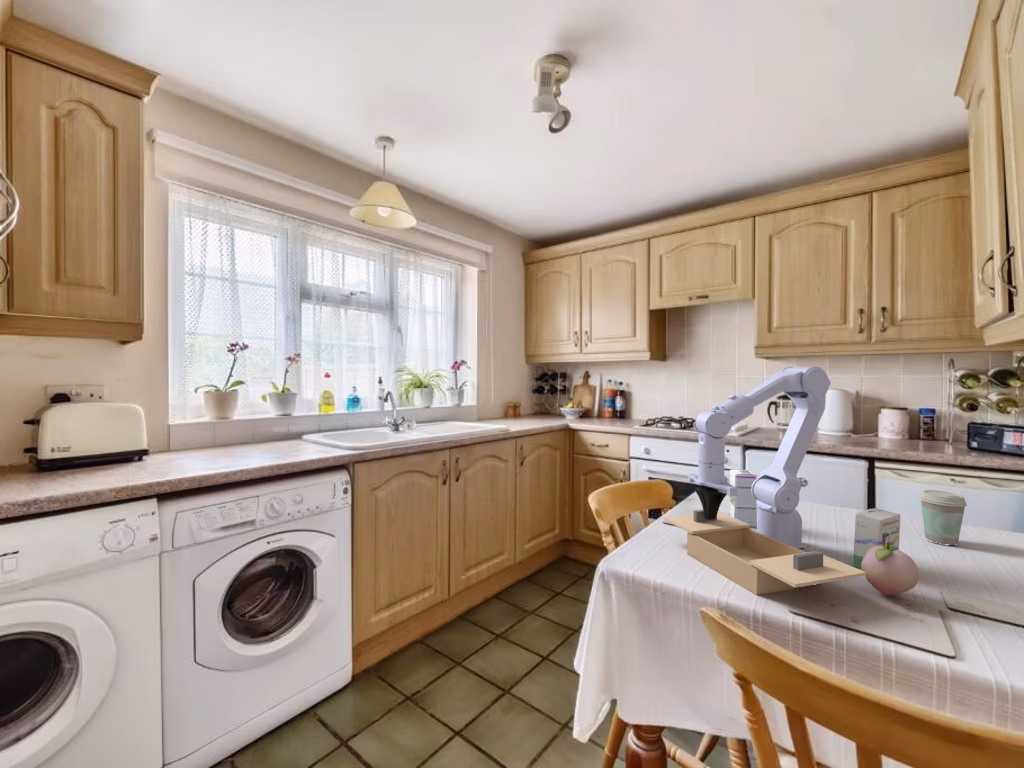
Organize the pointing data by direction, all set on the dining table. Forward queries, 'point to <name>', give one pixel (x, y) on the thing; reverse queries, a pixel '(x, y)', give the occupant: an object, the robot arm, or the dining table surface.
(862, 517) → the ink box
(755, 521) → the white printed box
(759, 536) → the carton
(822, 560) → the lid panel
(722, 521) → the lid panel
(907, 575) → the decorative fruit
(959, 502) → the coffee cup
